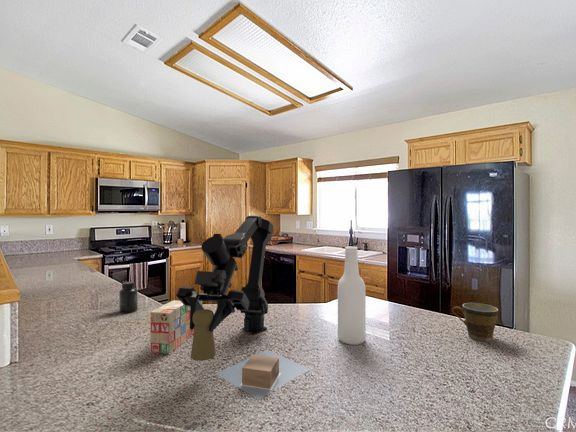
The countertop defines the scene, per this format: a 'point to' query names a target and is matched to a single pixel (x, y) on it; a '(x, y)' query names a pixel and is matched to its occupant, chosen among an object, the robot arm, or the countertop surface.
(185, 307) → the stack of blocks
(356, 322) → the alcohol
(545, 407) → the countertop surface
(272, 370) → the walnut block
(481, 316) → the ceramic cup
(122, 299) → the supplement bottle
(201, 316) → the olive pawn
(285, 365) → the mat
